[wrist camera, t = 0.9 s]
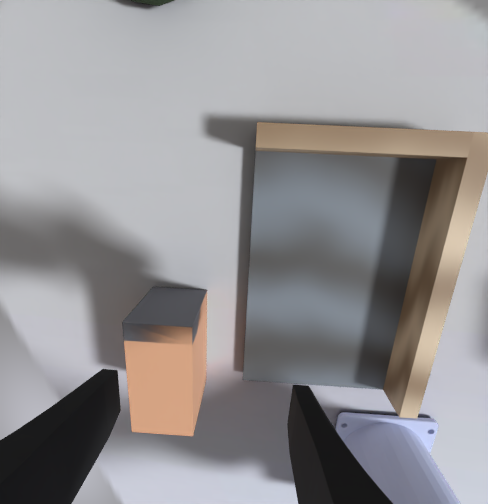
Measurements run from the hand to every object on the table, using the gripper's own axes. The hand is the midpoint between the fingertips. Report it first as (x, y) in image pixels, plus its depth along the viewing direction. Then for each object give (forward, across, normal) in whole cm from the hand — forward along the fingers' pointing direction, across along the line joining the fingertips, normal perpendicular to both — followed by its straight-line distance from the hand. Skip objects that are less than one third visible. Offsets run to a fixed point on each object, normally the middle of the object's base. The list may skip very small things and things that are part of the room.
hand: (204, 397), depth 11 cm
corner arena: (+10, -8, -2) cm, 12 cm away
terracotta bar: (+10, +3, +4) cm, 11 cm away
